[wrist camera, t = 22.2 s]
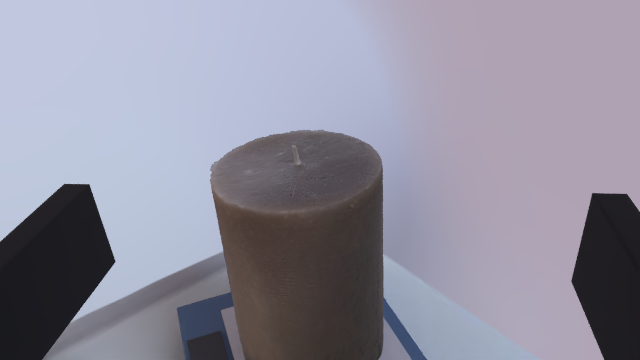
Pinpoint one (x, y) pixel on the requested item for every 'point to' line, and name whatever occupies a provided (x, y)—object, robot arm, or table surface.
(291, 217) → the pillar candle
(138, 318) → the table surface
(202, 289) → the table surface
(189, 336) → the scale
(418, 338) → the table surface
